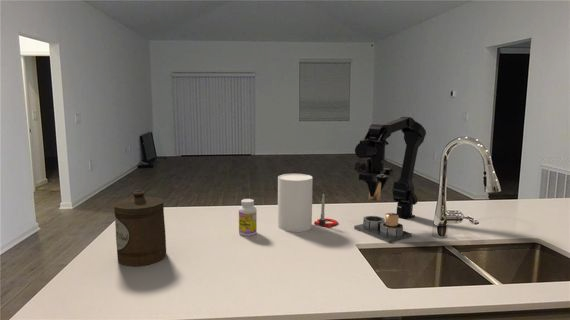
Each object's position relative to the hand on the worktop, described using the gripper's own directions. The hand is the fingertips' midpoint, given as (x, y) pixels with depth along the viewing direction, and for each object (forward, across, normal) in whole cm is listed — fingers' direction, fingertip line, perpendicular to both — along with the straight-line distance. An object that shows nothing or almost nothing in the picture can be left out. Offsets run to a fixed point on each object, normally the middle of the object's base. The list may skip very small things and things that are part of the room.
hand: (374, 195), depth 159 cm
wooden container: (+15, +76, -42) cm, 88 cm away
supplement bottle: (+14, +39, -32) cm, 52 cm away
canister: (+13, +20, -24) cm, 34 cm away
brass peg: (+2, 0, 0) cm, 2 cm away
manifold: (+13, +5, +6) cm, 15 cm away
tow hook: (+13, +9, -16) cm, 23 cm away
